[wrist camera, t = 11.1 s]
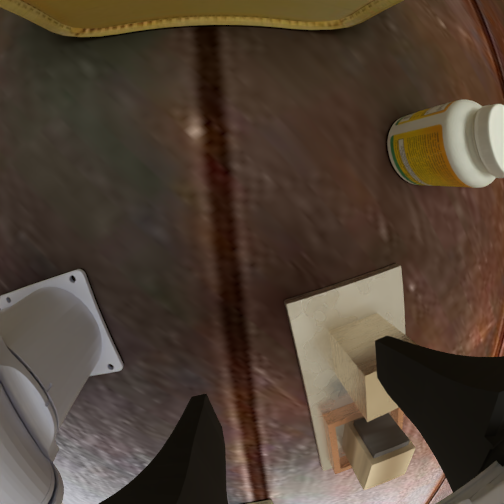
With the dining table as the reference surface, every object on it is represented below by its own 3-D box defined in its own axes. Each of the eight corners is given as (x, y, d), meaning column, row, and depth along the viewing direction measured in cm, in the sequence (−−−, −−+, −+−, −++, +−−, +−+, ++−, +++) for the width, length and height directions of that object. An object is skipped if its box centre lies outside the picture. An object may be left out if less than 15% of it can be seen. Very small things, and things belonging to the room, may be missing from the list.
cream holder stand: (320, 466, 25) (340, 513, 18) (283, 300, 20) (314, 347, 14) (397, 434, 25) (426, 473, 19) (395, 263, 21) (454, 289, 14)
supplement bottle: (396, 103, 19) (486, 70, 9) (443, 141, 20) (534, 130, 10) (374, 163, 19) (473, 152, 10) (425, 198, 20) (522, 208, 11)
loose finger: (341, 446, 23) (363, 490, 17) (345, 414, 22) (373, 460, 17) (378, 435, 24) (404, 474, 18) (385, 402, 23) (417, 443, 17)
